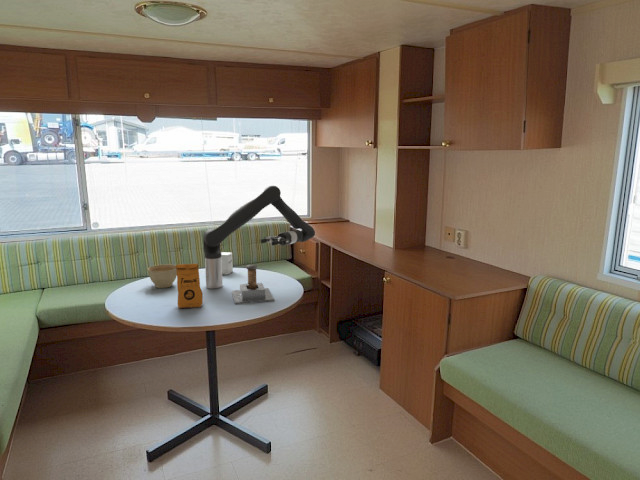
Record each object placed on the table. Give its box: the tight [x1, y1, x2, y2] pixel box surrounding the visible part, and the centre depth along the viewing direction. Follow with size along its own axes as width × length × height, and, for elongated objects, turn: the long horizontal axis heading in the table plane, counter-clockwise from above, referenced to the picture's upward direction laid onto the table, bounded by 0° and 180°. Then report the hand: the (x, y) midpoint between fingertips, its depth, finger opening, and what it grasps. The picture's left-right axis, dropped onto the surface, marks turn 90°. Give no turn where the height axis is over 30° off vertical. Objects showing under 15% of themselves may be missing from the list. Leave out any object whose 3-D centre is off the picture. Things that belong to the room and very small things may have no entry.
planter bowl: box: [147, 263, 177, 289], centre depth 261 cm, size 16×16×11 cm
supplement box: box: [221, 251, 234, 275], centre depth 289 cm, size 7×7×13 cm
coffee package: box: [175, 263, 204, 309], centre depth 227 cm, size 10×12×22 cm
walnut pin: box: [245, 264, 258, 289], centre depth 242 cm, size 6×6×16 cm
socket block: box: [231, 282, 275, 305], centre depth 244 cm, size 20×20×6 cm
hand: (266, 242), depth 247 cm, fingers open, 8 cm apart
